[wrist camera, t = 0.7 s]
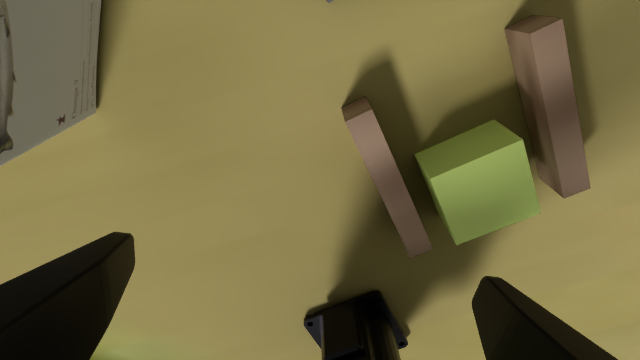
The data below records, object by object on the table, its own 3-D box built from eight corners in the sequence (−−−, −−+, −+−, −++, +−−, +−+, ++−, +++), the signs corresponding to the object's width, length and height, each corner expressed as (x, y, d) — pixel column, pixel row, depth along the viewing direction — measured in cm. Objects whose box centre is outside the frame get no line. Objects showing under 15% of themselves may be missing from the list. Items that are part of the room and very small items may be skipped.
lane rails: (563, 169, 23) (590, 188, 21) (401, 234, 25) (410, 257, 23) (533, 15, 19) (562, 18, 17) (341, 108, 21) (345, 121, 19)
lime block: (510, 183, 24) (541, 212, 21) (437, 213, 25) (456, 245, 22) (492, 118, 22) (523, 139, 19) (413, 153, 23) (430, 178, 20)
